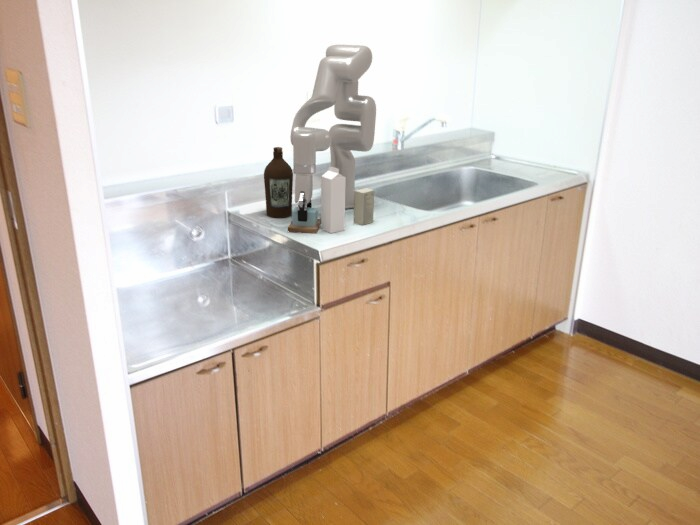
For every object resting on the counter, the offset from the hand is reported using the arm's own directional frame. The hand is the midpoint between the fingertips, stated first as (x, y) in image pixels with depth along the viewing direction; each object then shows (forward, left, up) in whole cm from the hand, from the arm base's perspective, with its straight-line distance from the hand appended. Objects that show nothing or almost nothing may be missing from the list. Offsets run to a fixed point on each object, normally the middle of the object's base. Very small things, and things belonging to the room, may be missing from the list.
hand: (304, 217), depth 215 cm
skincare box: (-9, +20, -4) cm, 22 cm away
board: (0, 0, -4) cm, 4 cm away
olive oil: (-14, -12, -4) cm, 19 cm away
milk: (+1, +10, -4) cm, 11 cm away
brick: (0, 0, -2) cm, 2 cm away
